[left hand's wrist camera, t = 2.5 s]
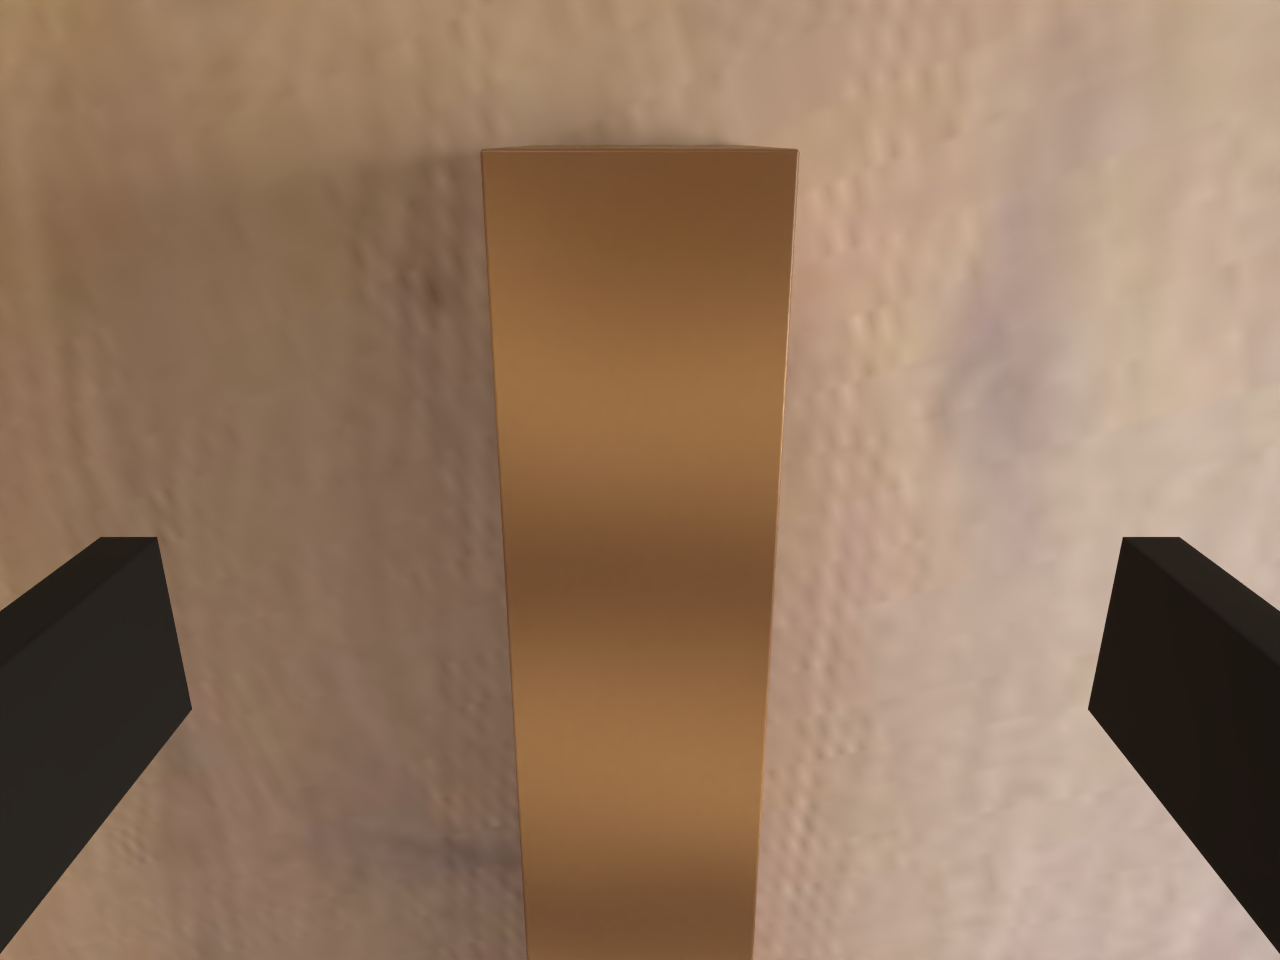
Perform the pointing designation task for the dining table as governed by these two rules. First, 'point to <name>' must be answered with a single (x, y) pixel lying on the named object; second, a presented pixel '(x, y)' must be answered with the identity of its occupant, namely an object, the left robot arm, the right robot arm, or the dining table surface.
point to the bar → (639, 529)
